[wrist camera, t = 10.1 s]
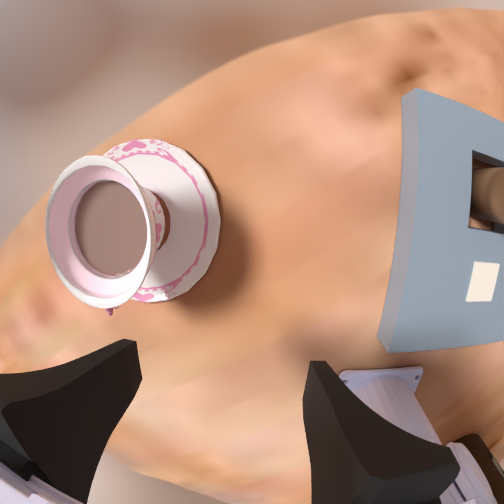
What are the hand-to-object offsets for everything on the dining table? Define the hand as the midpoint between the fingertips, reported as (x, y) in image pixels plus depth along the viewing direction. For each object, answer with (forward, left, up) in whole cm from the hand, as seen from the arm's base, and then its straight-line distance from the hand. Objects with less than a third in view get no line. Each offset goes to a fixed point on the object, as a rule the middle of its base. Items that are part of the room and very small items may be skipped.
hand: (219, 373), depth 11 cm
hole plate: (+6, -18, -9) cm, 21 cm away
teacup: (+5, +8, -10) cm, 13 cm away
